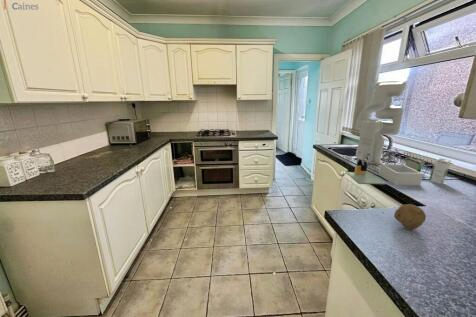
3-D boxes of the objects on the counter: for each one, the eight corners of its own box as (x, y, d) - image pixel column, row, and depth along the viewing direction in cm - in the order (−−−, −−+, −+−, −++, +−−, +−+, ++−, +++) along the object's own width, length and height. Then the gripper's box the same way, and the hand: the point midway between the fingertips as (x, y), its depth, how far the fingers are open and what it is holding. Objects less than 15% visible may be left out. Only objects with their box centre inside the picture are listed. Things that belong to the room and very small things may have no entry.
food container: (426, 177, 133) (430, 162, 130) (416, 177, 133) (420, 162, 130) (411, 170, 145) (415, 156, 142) (402, 170, 145) (405, 156, 142)
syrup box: (431, 180, 128) (437, 157, 124) (444, 183, 123) (451, 159, 119) (428, 182, 125) (434, 159, 121) (441, 185, 120) (448, 161, 116)
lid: (346, 174, 138) (347, 164, 135) (369, 175, 136) (371, 165, 134) (358, 185, 121) (360, 174, 119) (385, 186, 120) (387, 175, 118)
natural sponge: (390, 228, 82) (396, 205, 79) (393, 218, 88) (398, 197, 85) (420, 238, 76) (428, 214, 73) (421, 227, 82) (428, 204, 80)
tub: (378, 175, 135) (380, 164, 133) (401, 176, 134) (403, 164, 132) (393, 186, 120) (396, 173, 117) (419, 186, 119) (423, 173, 116)
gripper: (353, 138, 136) (349, 164, 141) (366, 144, 120) (361, 173, 125) (365, 138, 136) (360, 165, 141) (380, 144, 119) (374, 174, 125)
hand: (361, 168), depth 133 cm, fingers open, 4 cm apart
